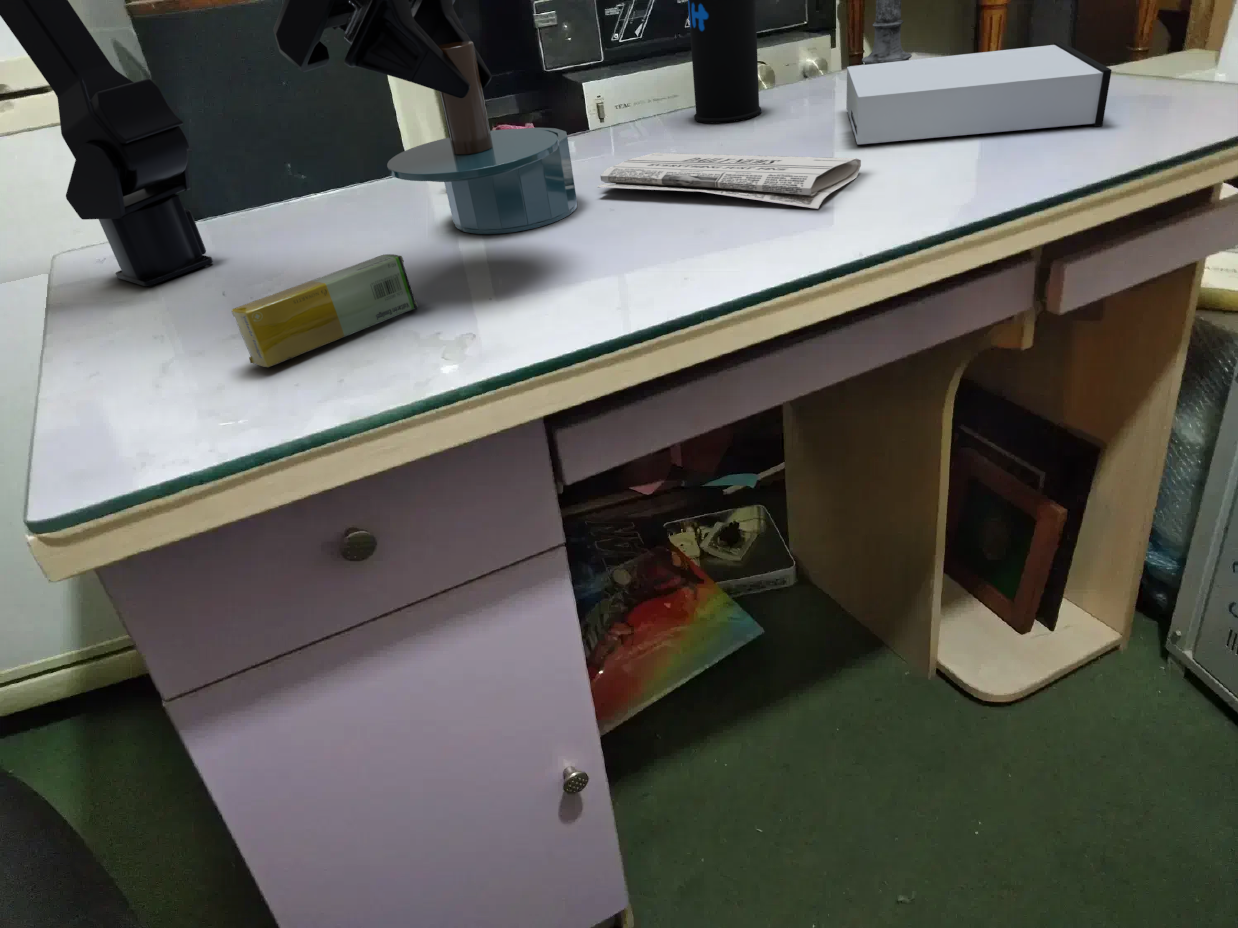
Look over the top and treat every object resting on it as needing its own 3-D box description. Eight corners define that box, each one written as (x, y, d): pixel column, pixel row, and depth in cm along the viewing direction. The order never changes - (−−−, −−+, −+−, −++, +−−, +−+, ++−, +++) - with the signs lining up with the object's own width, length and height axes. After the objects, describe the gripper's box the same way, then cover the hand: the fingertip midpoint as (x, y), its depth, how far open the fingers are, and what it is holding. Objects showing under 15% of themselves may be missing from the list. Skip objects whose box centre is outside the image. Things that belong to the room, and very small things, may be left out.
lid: (410, 202, 58) (378, 70, 53) (376, 168, 68) (346, 54, 63) (585, 161, 61) (568, 35, 57) (528, 135, 71) (510, 25, 67)
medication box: (401, 304, 65) (385, 252, 63) (420, 308, 63) (404, 254, 61) (250, 364, 58) (227, 307, 56) (266, 370, 56) (243, 311, 55)
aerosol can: (761, 105, 109) (755, -81, 99) (761, 119, 103) (754, -79, 92) (696, 112, 111) (683, -71, 100) (691, 126, 104) (677, -68, 94)
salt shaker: (902, 93, 106) (907, -20, 99) (854, 94, 108) (856, -15, 102) (916, 82, 110) (921, -26, 103) (869, 84, 112) (872, -22, 106)
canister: (515, 240, 75) (501, 164, 71) (429, 227, 82) (412, 157, 78) (602, 200, 82) (592, 129, 79) (516, 191, 89) (504, 126, 85)
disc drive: (1103, 126, 82) (1113, 68, 80) (857, 147, 87) (858, 94, 84) (1055, 90, 97) (1061, 41, 94) (846, 110, 101) (846, 64, 98)
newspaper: (590, 198, 83) (588, 170, 82) (661, 175, 92) (660, 150, 90) (810, 212, 71) (811, 180, 69) (869, 185, 79) (870, 156, 78)
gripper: (248, -204, 47) (473, 6, 49) (420, -189, 61) (587, -27, 63) (189, -21, 53) (389, 156, 56) (357, -47, 68) (510, 95, 70)
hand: (477, 87), depth 61 cm, fingers closed on lid, 3 cm apart
